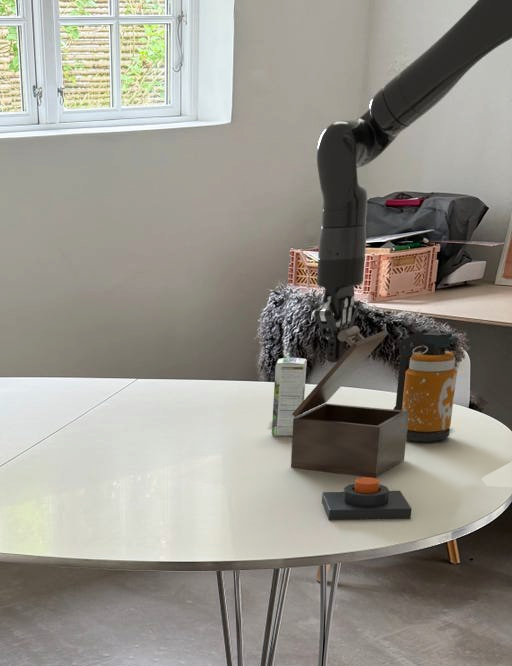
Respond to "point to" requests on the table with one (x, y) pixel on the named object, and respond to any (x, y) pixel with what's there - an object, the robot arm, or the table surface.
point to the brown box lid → (341, 367)
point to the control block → (365, 504)
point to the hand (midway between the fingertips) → (334, 360)
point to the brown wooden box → (349, 439)
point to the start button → (366, 485)
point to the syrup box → (287, 393)
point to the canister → (427, 385)
